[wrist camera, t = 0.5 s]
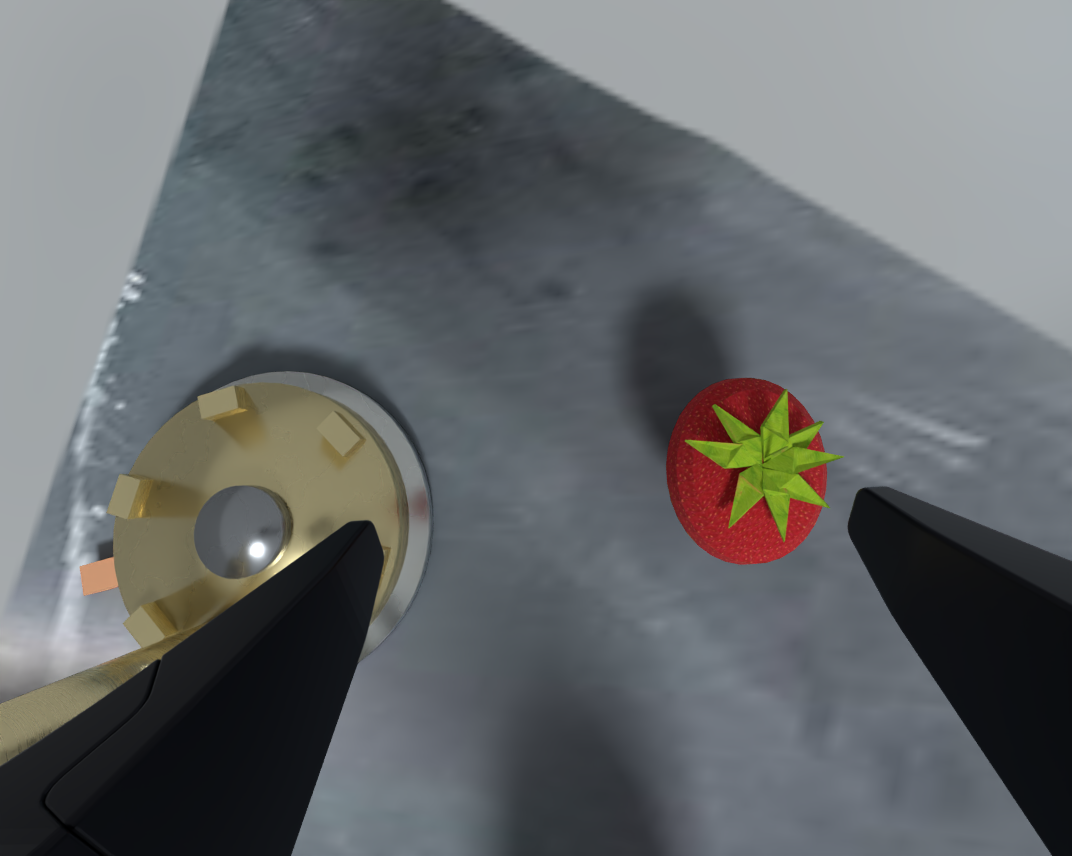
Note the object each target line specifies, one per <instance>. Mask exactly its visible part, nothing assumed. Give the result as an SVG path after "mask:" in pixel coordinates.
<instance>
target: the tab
mask: <svg viewBox="0 0 1072 856" xmlns="http://www.w3.org/2000/svg"><path fill="white" fill-rule="evenodd" d="M80 572H81V580H82V587H83V594H84V596H85V595H89V594H93V593H97V592H102V591H105V590H109V589H112V588H116V587H118V582H117V577H116V572H115V566H114V557H111V558H108V559H104V560H101V561H97V562H94V563H90V564H87V565H83V566H80Z"/></svg>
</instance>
